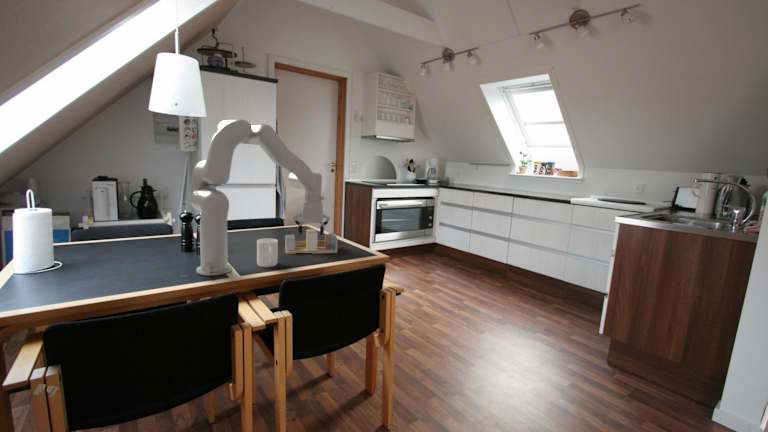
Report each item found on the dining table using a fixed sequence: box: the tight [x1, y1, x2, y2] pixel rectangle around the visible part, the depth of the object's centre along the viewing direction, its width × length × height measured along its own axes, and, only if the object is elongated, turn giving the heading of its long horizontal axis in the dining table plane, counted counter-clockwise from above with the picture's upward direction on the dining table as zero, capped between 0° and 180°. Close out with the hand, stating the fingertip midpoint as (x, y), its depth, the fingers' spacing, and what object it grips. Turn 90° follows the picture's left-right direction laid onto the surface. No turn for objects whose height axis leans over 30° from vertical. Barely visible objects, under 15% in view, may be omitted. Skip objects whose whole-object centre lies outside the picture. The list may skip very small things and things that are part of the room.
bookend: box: [284, 234, 296, 250], centre depth 174 cm, size 6×4×6 cm, turn 18°
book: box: [305, 228, 319, 251], centre depth 176 cm, size 7×4×9 cm, turn 18°
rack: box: [284, 232, 339, 255], centre depth 177 cm, size 9×24×8 cm, turn 108°
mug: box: [256, 237, 279, 268], centre depth 151 cm, size 12×8×10 cm
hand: (311, 234), depth 175 cm, fingers open, 9 cm apart
